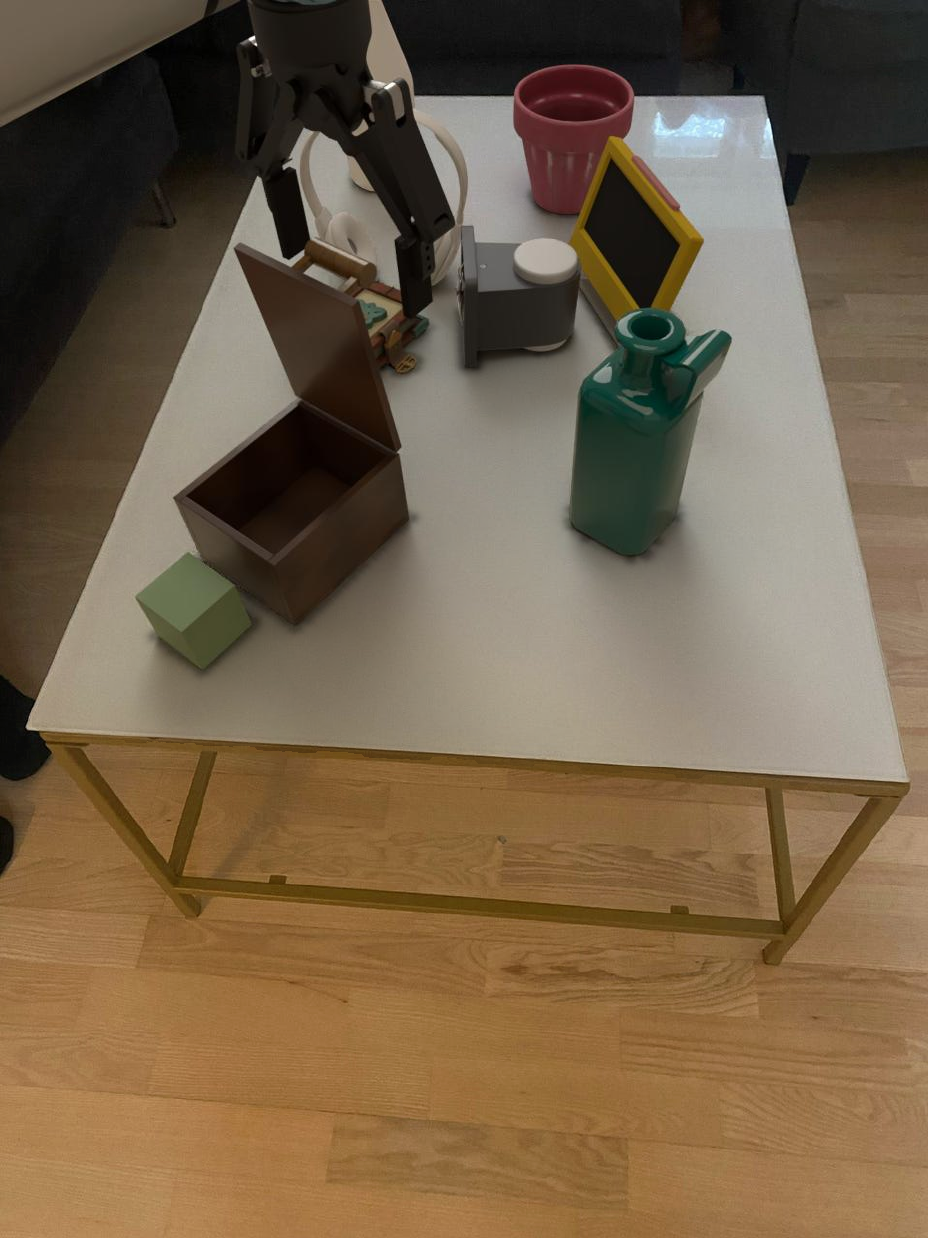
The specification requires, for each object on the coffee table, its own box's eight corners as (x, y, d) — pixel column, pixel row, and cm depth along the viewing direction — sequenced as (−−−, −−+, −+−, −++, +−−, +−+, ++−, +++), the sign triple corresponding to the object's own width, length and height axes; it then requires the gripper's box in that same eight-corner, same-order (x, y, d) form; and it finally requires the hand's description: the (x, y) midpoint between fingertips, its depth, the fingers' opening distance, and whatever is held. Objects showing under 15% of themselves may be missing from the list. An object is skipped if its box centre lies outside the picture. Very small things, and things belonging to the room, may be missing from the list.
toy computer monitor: (565, 272, 107) (572, 140, 94) (626, 257, 108) (641, 124, 95) (633, 378, 96) (652, 245, 83) (700, 361, 97) (729, 227, 84)
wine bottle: (369, 202, 118) (329, -72, 93) (339, 169, 122) (294, -100, 98) (433, 180, 120) (411, -94, 95) (401, 148, 125) (372, -120, 100)
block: (202, 670, 78) (181, 632, 73) (157, 635, 80) (134, 596, 75) (252, 624, 81) (235, 584, 76) (207, 592, 83) (187, 551, 78)
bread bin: (296, 626, 80) (274, 566, 73) (202, 560, 85) (172, 497, 78) (409, 518, 87) (399, 453, 79) (316, 462, 92) (298, 396, 84)
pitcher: (560, 522, 85) (571, 331, 67) (610, 470, 89) (634, 274, 71) (647, 572, 82) (685, 384, 64) (696, 515, 85) (746, 321, 67)
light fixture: (577, 368, 98) (589, 281, 89) (457, 371, 98) (456, 284, 89) (567, 306, 105) (577, 218, 96) (453, 308, 104) (453, 221, 95)
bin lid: (352, 307, 65) (403, 258, 66) (232, 247, 69) (283, 203, 71) (396, 453, 79) (437, 409, 81) (295, 395, 84) (335, 355, 86)
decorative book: (257, 383, 99) (246, 346, 95) (357, 296, 107) (351, 259, 102) (351, 428, 94) (344, 391, 90) (449, 335, 102) (446, 297, 98)
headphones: (467, 299, 105) (458, 126, 89) (315, 292, 107) (278, 122, 91) (475, 262, 109) (468, 90, 93) (329, 256, 111) (296, 87, 95)
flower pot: (644, 184, 117) (657, 80, 106) (587, 239, 111) (595, 134, 100) (551, 154, 122) (554, 52, 111) (492, 204, 116) (489, 102, 105)
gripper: (501, -2, 52) (505, 310, 70) (213, -86, 62) (281, 207, 79) (417, 50, 49) (444, 363, 67) (128, -46, 58) (218, 249, 76)
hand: (355, 279), depth 73 cm, fingers open, 13 cm apart
